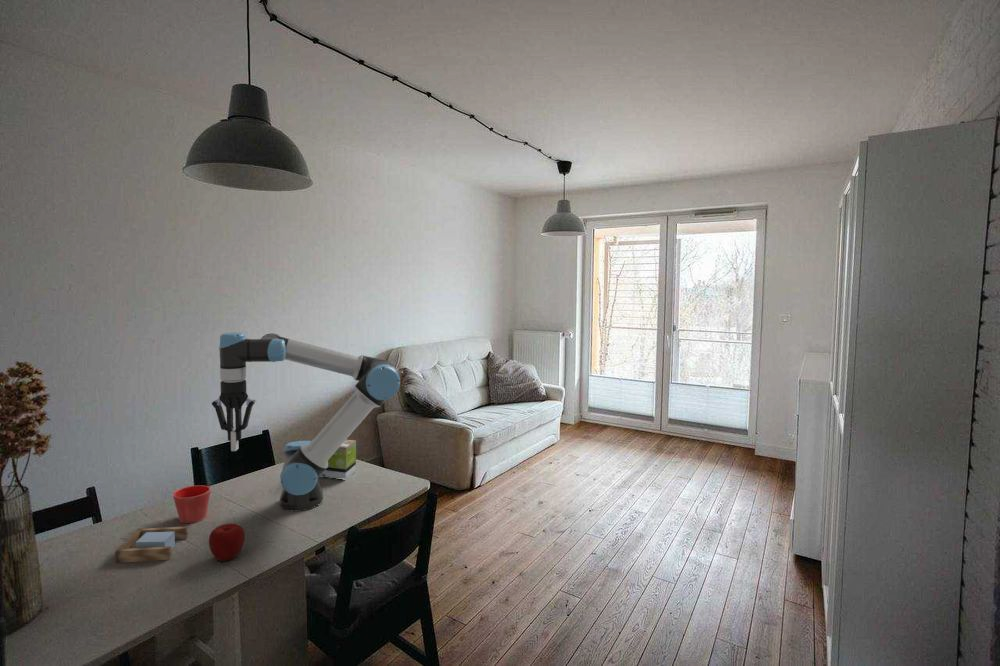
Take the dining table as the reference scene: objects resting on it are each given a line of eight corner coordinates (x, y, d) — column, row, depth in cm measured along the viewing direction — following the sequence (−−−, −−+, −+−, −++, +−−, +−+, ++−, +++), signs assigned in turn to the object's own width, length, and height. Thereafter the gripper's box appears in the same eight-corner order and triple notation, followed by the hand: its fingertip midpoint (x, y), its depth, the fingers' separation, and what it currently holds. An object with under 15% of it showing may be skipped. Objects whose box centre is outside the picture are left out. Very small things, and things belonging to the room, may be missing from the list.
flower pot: (177, 513, 180) (176, 487, 179) (212, 509, 184) (212, 483, 183) (171, 527, 170) (170, 499, 169) (209, 522, 174) (208, 495, 173)
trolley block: (175, 544, 161) (175, 530, 160) (164, 556, 153) (163, 542, 153) (148, 545, 159) (147, 531, 159) (135, 557, 152) (134, 543, 152)
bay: (188, 536, 165) (187, 526, 164) (169, 559, 152) (169, 548, 151) (139, 539, 162) (138, 528, 162) (115, 562, 149) (115, 551, 149)
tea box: (312, 477, 215) (312, 443, 214) (324, 468, 225) (324, 436, 223) (345, 481, 213) (346, 446, 211) (356, 472, 223) (356, 439, 221)
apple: (221, 548, 159) (220, 517, 158) (251, 549, 159) (251, 519, 157) (202, 565, 149) (201, 532, 148) (234, 567, 149) (234, 534, 148)
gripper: (257, 377, 172) (258, 445, 175) (215, 377, 170) (217, 446, 173) (251, 382, 165) (252, 453, 168) (207, 382, 163) (209, 454, 165)
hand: (234, 449), depth 170 cm, fingers closed
